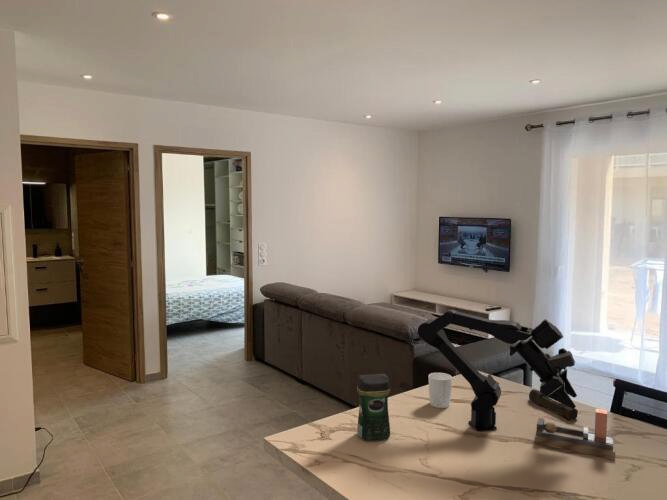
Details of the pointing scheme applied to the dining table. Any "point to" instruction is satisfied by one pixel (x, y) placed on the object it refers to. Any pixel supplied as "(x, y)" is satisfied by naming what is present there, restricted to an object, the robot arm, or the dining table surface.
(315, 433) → the dining table surface
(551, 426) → the nut
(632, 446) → the dining table surface
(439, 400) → the white cup
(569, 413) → the dark brown bar
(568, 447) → the ball pusher game
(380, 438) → the coffee jar
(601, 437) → the lever
